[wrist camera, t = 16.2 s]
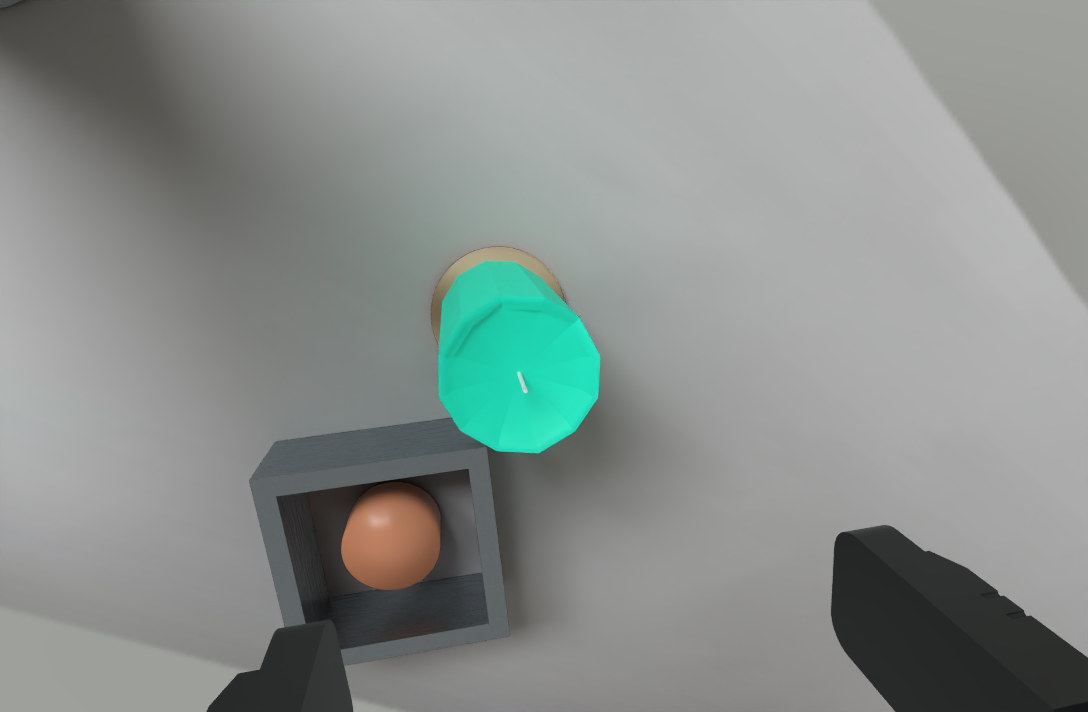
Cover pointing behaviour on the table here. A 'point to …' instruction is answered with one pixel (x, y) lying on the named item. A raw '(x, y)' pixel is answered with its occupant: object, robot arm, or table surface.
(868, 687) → the table surface
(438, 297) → the coaster
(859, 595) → the robot arm
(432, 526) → the orange egg shape
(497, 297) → the candle
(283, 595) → the gray open box
